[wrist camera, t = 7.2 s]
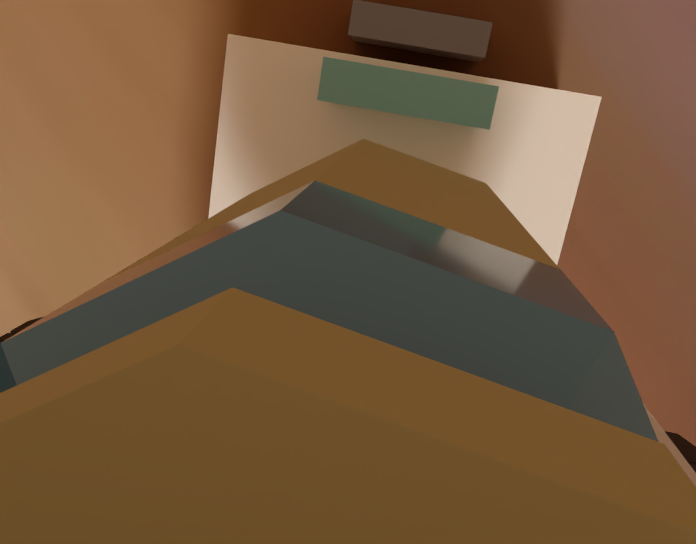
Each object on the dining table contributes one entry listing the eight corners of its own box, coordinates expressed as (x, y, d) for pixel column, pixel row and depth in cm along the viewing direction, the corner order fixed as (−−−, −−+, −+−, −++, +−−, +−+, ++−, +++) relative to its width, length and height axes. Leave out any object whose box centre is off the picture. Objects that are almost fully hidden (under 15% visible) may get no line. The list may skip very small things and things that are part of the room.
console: (229, 358, 30) (162, 454, 22) (319, -375, 22) (268, -646, 14) (482, 406, 30) (509, 524, 21) (663, -327, 22) (814, -581, 14)
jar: (361, 65, 17) (122, -83, 3) (598, 287, 18) (1269, 975, 4) (163, 299, 20) (-500, 840, 5) (382, 484, 21) (315, 1362, 6)
